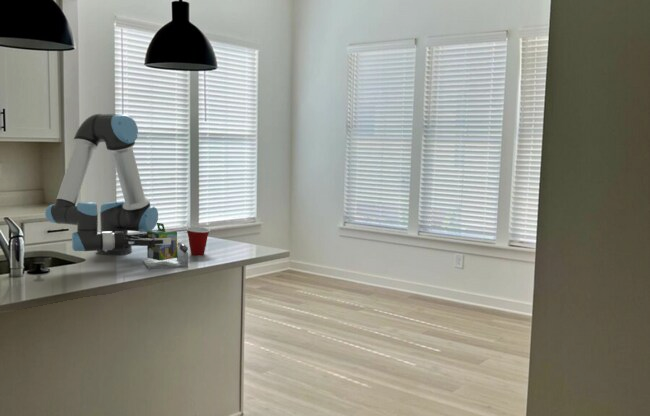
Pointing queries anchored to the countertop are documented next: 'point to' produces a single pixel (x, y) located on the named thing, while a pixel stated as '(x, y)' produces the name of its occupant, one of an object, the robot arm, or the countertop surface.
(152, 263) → the shaft seat
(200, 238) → the plastic cup
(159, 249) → the chalk box
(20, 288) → the countertop surface
